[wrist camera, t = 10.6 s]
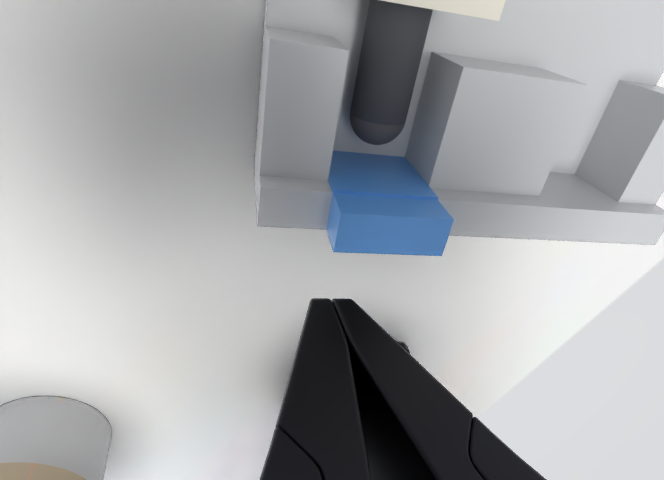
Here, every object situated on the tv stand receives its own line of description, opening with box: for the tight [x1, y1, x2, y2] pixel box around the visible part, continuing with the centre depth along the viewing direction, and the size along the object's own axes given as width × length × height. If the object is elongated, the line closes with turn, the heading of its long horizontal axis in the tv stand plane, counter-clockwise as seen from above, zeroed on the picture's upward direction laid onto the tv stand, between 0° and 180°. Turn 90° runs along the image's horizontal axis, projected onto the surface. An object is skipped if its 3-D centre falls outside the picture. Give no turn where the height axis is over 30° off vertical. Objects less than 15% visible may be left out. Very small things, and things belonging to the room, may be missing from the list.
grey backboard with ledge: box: [254, 0, 664, 256], centre depth 15 cm, size 14×18×6 cm
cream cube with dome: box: [350, 0, 506, 145], centre depth 14 cm, size 10×4×4 cm, turn 171°
